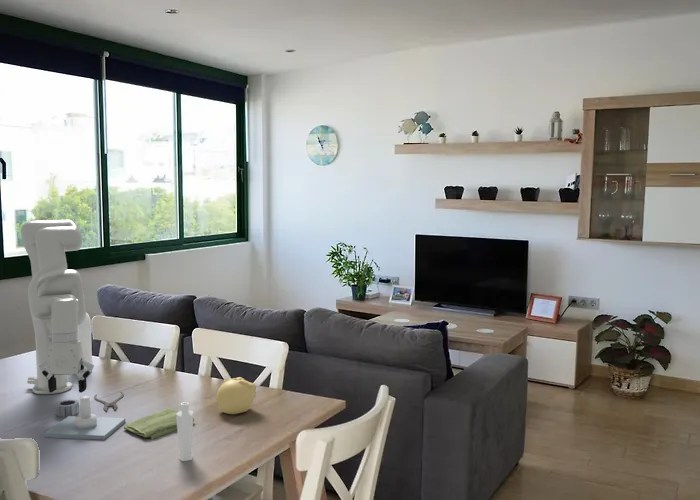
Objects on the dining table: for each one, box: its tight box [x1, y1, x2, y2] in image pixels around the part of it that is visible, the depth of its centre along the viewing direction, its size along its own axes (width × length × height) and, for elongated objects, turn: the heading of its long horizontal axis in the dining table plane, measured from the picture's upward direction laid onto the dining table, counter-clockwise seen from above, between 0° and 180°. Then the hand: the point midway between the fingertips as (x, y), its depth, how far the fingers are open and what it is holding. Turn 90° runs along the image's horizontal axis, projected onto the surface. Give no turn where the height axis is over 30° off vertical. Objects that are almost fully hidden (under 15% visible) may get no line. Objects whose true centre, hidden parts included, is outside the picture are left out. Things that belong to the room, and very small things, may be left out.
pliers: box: [93, 391, 125, 413], centre depth 219 cm, size 10×1×20 cm
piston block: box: [43, 395, 126, 441], centre depth 194 cm, size 18×14×10 cm
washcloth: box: [123, 407, 195, 440], centre depth 197 cm, size 13×18×3 cm
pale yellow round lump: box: [215, 376, 257, 415], centre depth 210 cm, size 11×12×11 cm
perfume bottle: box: [176, 401, 194, 462], centre depth 174 cm, size 5×4×15 cm
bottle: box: [78, 296, 94, 372], centre depth 255 cm, size 8×8×30 cm
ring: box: [56, 399, 80, 418], centre depth 207 cm, size 6×6×4 cm
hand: (67, 391), depth 206 cm, fingers open, 9 cm apart
